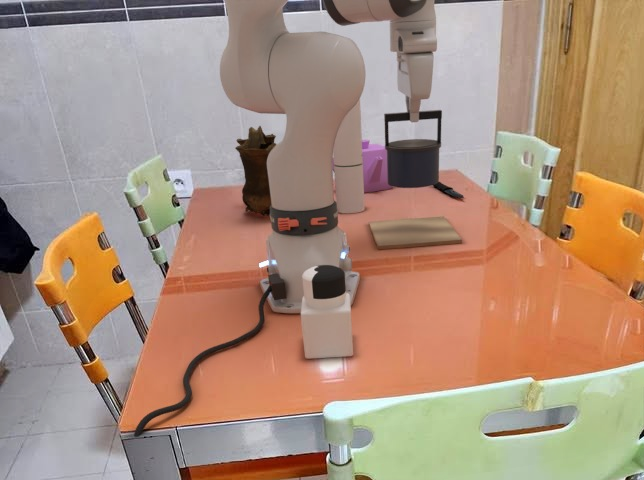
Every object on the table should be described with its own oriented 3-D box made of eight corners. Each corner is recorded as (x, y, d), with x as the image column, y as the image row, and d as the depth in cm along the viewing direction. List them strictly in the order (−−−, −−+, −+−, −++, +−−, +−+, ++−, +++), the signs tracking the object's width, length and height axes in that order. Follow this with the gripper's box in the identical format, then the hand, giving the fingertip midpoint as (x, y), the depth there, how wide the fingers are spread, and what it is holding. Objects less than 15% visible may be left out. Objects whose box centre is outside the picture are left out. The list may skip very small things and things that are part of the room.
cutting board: (461, 243, 138) (462, 239, 138) (378, 249, 137) (378, 245, 137) (443, 219, 155) (443, 216, 154) (368, 225, 154) (368, 221, 153)
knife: (431, 182, 183) (441, 180, 183) (431, 187, 184) (441, 185, 184) (458, 196, 166) (469, 195, 167) (458, 202, 167) (469, 200, 168)
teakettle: (403, 182, 190) (402, 135, 183) (382, 195, 178) (380, 145, 170) (350, 180, 196) (347, 134, 189) (326, 193, 183) (322, 144, 176)
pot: (445, 186, 135) (447, 113, 127) (389, 190, 135) (388, 117, 127) (434, 175, 145) (436, 106, 137) (382, 178, 144) (380, 110, 136)
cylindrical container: (365, 206, 169) (361, 95, 154) (363, 213, 163) (358, 98, 149) (338, 206, 170) (331, 96, 155) (335, 213, 164) (327, 100, 149)
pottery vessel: (288, 222, 159) (278, 132, 147) (243, 226, 158) (230, 135, 147) (285, 199, 179) (276, 118, 168) (245, 202, 178) (234, 121, 167)
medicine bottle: (352, 337, 101) (347, 259, 94) (353, 356, 95) (348, 275, 88) (306, 339, 101) (298, 262, 94) (305, 359, 95) (296, 279, 88)
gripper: (389, 39, 133) (391, 115, 141) (404, 42, 116) (404, 128, 125) (420, 37, 133) (419, 113, 141) (439, 40, 117) (437, 126, 125)
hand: (412, 121), depth 133 cm, fingers closed on pot
